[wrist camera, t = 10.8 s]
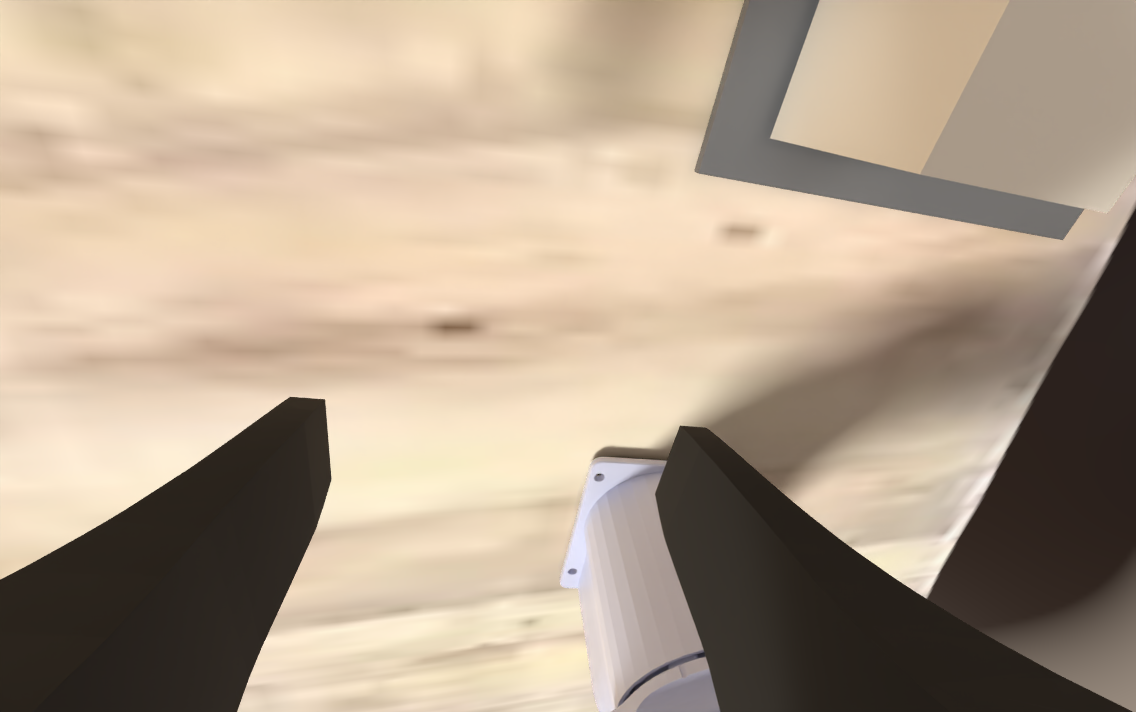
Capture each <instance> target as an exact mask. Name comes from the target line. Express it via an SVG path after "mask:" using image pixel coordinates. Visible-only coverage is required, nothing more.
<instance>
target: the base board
mask: <svg viewBox="0 0 1136 712" xmlns="http://www.w3.org/2000/svg"><path fill="white" fill-rule="evenodd" d="M818 3H819V0H745V1H744V4H743V7H742V11H741V14H740V18H739V21H738V24H737V28H736V31H735V35H734V38H733V41H732V45H731V48H730V52H729V55H728V59H727V62H726V65H725V69H724V72H723V76H722V79H721V82H720V86H719V89H718V93H717V96H716V99H715V103H714V106H713V110H712V113H711V117H710V120H709V123H708V127H707V130H706V134H705V137H704V140H703V144H702V147H701V151H700V154H699V157H698V161H697V164H696V168H695V172H697V173H699V174H705V175H710V176H716V177H721V178H727V179H732V180H738V181H743V182H748V183H754V184H759V185H765V186H770V187H776V188H781V189H787V190H792V191H798V192H803V193H808V194H814V195H819V196H825V197H830V198H836V199H841V200H847V201H852V202H858V203H863V204H869V205H874V206H879V207H885V208H890V209H896V210H901V211H907V212H912V213H918V214H923V215H929V216H934V217H939V218H945V219H950V220H956V221H961V222H967V223H972V224H978V225H983V226H989V227H994V228H1000V229H1005V230H1010V231H1016V232H1021V233H1027V234H1032V235H1038V236H1043V237H1049V238H1054V239H1060V240H1063V239H1064V238H1065V236H1066V235H1067V233H1068V232H1069V230H1070V229H1071V227H1072V226H1073V225H1074V223H1075V222H1076V220H1077V219H1078V217H1079V216H1080V215H1081V213H1082V212H1083V210H1084V209H1083V208H1078V207H1073V206H1068V205H1064V204H1059V203H1054V202H1049V201H1044V200H1040V199H1035V198H1030V197H1025V196H1021V195H1016V194H1011V193H1006V192H1001V191H997V190H992V189H987V188H982V187H978V186H973V185H968V184H963V183H958V182H954V181H949V180H944V179H939V178H935V177H930V176H925V175H920V174H916V173H912V172H908V171H904V170H899V169H895V168H891V167H887V166H883V165H879V164H874V163H870V162H866V161H862V160H858V159H854V158H850V157H845V156H841V155H837V154H833V153H829V152H825V151H821V150H816V149H812V148H808V147H804V146H800V145H796V144H791V143H787V142H783V141H779V140H775V139H771V138H770V137H771V134H772V131H773V128H774V126H775V123H776V120H777V117H778V114H779V112H780V109H781V106H782V103H783V101H784V98H785V95H786V92H787V89H788V87H789V84H790V81H791V78H792V75H793V73H794V70H795V67H796V64H797V62H798V59H799V56H800V53H801V50H802V48H803V45H804V42H805V39H806V36H807V34H808V31H809V28H810V25H811V23H812V20H813V17H814V14H815V11H816V9H817V6H818Z"/></svg>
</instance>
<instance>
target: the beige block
mask: <svg viewBox="0 0 1136 712" xmlns="http://www.w3.org/2000/svg"><path fill="white" fill-rule="evenodd" d="M770 138H771V139H775V140H779V141H783V142H787V143H791V144H796V145H800V146H804V147H808V148H812V149H816V150H821V151H825V152H829V153H833V154H837V155H841V156H845V157H850V158H854V159H858V160H862V161H866V162H870V163H874V164H879V165H883V166H887V167H891V168H895V169H899V170H904V171H908V172H912V173H916V174H920V175H925V176H930V177H935V178H939V179H944V180H949V181H954V182H958V183H963V184H968V185H973V186H978V187H982V188H987V189H992V190H997V191H1001V192H1006V193H1011V194H1016V195H1021V196H1025V197H1030V198H1035V199H1040V200H1044V201H1049V202H1054V203H1059V204H1064V205H1068V206H1073V207H1078V208H1083V209H1087V210H1092V211H1097V212H1102V213H1107V214H1108V212H1109V211H1110V210H1111V208H1112V207H1113V206H1114V204H1115V203H1116V201H1117V200H1118V199H1119V197H1120V196H1121V195H1122V193H1123V192H1124V190H1125V189H1126V188H1127V186H1128V185H1129V184H1130V182H1131V181H1132V179H1133V178H1134V177H1135V175H1136V0H819V3H818V6H817V9H816V11H815V14H814V17H813V20H812V23H811V25H810V28H809V31H808V34H807V36H806V39H805V42H804V45H803V48H802V50H801V53H800V56H799V59H798V62H797V64H796V67H795V70H794V73H793V75H792V78H791V81H790V84H789V87H788V89H787V92H786V95H785V98H784V101H783V103H782V106H781V109H780V112H779V114H778V117H777V120H776V123H775V126H774V128H773V131H772V134H771V137H770Z"/></svg>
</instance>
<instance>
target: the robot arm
mask: <svg viewBox="0 0 1136 712" xmlns="http://www.w3.org/2000/svg"><path fill="white" fill-rule="evenodd" d="M600 473H601V475H599V476H596V475H597V474H600ZM330 482H331V468H330V456H329V443H328V431H327V418H326V406H325V399H311V398H298V397H289V398H288V399H286V400H285V401H284V402H282V403H281V404H279V405H278V406H276V407H275V408H274V409H272V410H271V411H270V412H268V413H267V414H265V415H264V416H263V417H261V418H260V419H258V420H257V421H256V422H254V423H253V424H252V425H250V426H249V427H247V428H246V429H245V430H243V431H242V432H241V433H239V434H238V435H236V436H235V437H234V438H232V439H231V440H230V441H228V442H227V443H225V444H224V445H222V446H221V447H220V448H218V449H217V450H215V451H214V452H212V453H211V454H210V455H208V456H207V457H205V458H204V459H202V460H201V461H200V462H198V463H197V464H195V465H194V466H192V467H191V468H190V469H188V470H186V471H185V472H183V473H182V474H180V475H179V476H177V477H176V478H174V479H173V480H171V481H169V482H168V483H166V484H165V485H163V486H162V487H160V488H159V489H157V490H155V491H154V492H152V493H151V494H149V495H148V496H146V497H145V498H143V499H141V500H140V501H138V502H137V503H135V504H134V505H132V506H131V507H129V508H127V509H126V510H124V511H123V512H121V513H119V514H118V515H116V516H114V517H113V518H111V519H109V520H108V521H106V522H104V523H103V524H101V525H99V526H97V527H96V528H94V529H92V530H91V531H89V532H87V533H85V534H84V535H82V536H80V537H78V538H77V539H75V540H73V541H71V542H69V543H68V544H66V545H64V546H62V547H60V548H59V549H57V550H55V551H53V552H51V553H50V554H48V555H46V556H44V557H42V558H41V559H39V560H37V561H35V562H33V563H31V564H30V565H28V566H26V567H24V568H22V569H20V570H18V571H16V572H15V573H13V574H11V575H9V576H7V577H5V578H3V579H1V580H0V712H237V710H238V707H239V705H240V702H241V699H242V696H243V693H244V690H245V688H246V685H247V682H248V679H249V677H250V674H251V672H252V669H253V667H254V665H255V662H256V660H257V657H258V655H259V653H260V650H261V648H262V646H263V643H264V641H265V639H266V637H267V635H268V633H269V630H270V628H271V626H272V624H273V622H274V620H275V617H276V615H277V613H278V611H279V609H280V607H281V604H282V602H283V600H284V598H285V596H286V593H287V591H288V589H289V587H290V585H291V583H292V580H293V578H294V576H295V574H296V572H297V570H298V567H299V565H300V563H301V561H302V559H303V556H304V554H305V552H306V550H307V548H308V545H309V543H310V541H311V539H312V536H313V534H314V532H315V530H316V527H317V524H318V521H319V518H320V515H321V512H322V509H323V505H324V502H325V499H326V496H327V492H328V489H329V486H330ZM560 584H561V586H562V587H564V588H578V593H579V600H580V607H581V613H582V620H583V627H584V634H585V641H586V648H587V654H588V661H589V668H590V675H591V682H592V689H593V694H594V698H595V702H596V705H597V708H598V710H599V712H1132V711H1130V710H1128V709H1126V708H1124V707H1122V706H1120V705H1118V704H1116V703H1114V702H1112V701H1110V700H1108V699H1106V698H1104V697H1102V696H1100V695H1098V694H1096V693H1094V692H1092V691H1090V690H1088V689H1086V688H1084V687H1082V686H1080V685H1078V684H1076V683H1074V682H1072V681H1070V680H1068V679H1066V678H1064V677H1062V676H1060V675H1058V674H1056V673H1054V672H1052V671H1050V670H1048V669H1047V668H1045V667H1043V666H1041V665H1039V664H1038V663H1036V662H1034V661H1032V660H1030V659H1029V658H1027V657H1025V656H1023V655H1021V654H1019V653H1018V652H1016V651H1014V650H1012V649H1010V648H1008V647H1007V646H1005V645H1003V644H1001V643H999V642H998V641H996V640H994V639H992V638H991V637H989V636H987V635H985V634H983V633H982V632H980V631H979V630H977V629H975V628H973V627H971V626H970V625H968V624H966V623H965V622H963V621H961V620H960V619H958V618H957V617H955V616H953V615H951V614H950V613H948V612H947V611H945V610H944V609H942V608H940V607H939V606H937V605H936V604H934V603H932V602H931V601H929V600H927V599H926V598H924V597H923V596H921V595H919V594H918V593H916V592H915V591H913V590H912V589H910V588H909V587H907V586H906V585H904V584H902V583H901V582H899V581H898V580H896V579H895V578H893V577H892V576H891V575H889V574H888V573H886V572H885V571H883V570H882V569H881V568H879V567H878V566H876V565H875V564H873V563H872V562H871V561H869V560H868V559H866V558H865V557H863V556H862V555H861V554H859V553H858V552H856V551H855V550H854V549H852V548H851V547H849V546H848V545H847V544H845V543H844V542H843V541H841V540H840V539H839V538H837V537H836V536H835V535H834V534H832V533H831V532H830V531H829V530H827V529H826V528H825V527H823V526H822V525H821V524H820V523H818V522H817V521H816V520H815V519H813V518H812V517H811V516H810V515H808V514H807V513H806V512H805V511H803V510H802V509H801V508H800V507H799V506H797V505H796V504H795V503H794V502H792V501H791V500H790V499H789V498H788V497H787V496H785V495H784V494H783V493H782V492H781V491H780V490H778V489H777V488H776V487H775V486H774V485H773V484H771V483H770V482H769V481H768V480H767V479H766V478H764V477H763V476H762V475H761V474H760V473H759V472H758V471H756V470H755V469H754V468H753V467H752V466H751V465H750V464H749V463H747V462H746V461H745V460H744V459H743V458H742V457H741V456H739V455H738V454H737V453H736V452H735V451H734V450H733V449H731V448H730V447H729V446H728V445H727V444H726V443H724V442H723V441H722V440H721V439H720V438H719V437H717V436H716V435H715V434H714V433H712V432H711V431H710V430H708V429H707V428H703V427H690V426H680V427H679V430H678V433H677V435H676V438H675V441H674V443H673V446H672V449H671V452H670V454H669V457H668V460H650V459H633V458H616V457H598V458H595V459H594V460H593V461H592V462H591V464H590V467H589V471H588V474H587V478H586V482H585V485H584V489H583V493H582V497H581V500H580V504H579V508H578V512H577V515H576V519H575V523H574V526H573V530H572V534H571V538H570V541H569V545H568V549H567V553H566V556H565V560H564V564H563V567H562V571H561V575H560Z"/></svg>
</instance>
